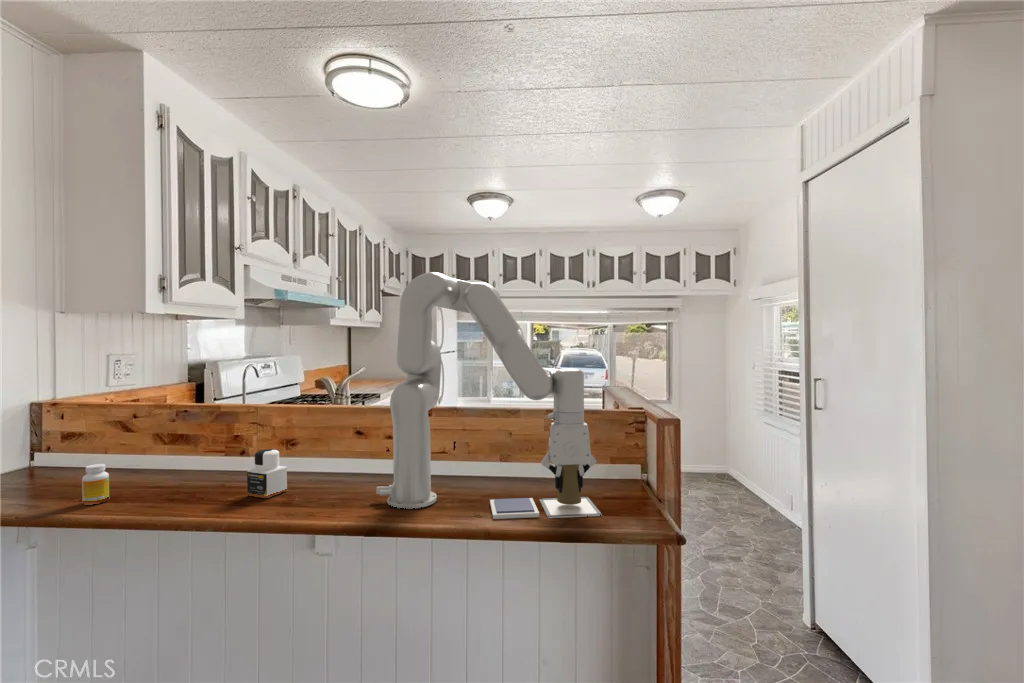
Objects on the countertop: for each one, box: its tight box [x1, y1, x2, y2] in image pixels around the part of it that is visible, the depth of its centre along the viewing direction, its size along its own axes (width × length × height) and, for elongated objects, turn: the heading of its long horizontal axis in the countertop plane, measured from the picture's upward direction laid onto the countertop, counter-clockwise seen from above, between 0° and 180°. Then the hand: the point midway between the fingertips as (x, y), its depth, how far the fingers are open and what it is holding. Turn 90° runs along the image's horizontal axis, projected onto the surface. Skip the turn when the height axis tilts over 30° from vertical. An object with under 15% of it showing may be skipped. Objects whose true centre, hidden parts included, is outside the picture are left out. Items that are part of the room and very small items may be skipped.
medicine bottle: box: [246, 448, 288, 496], centre depth 139 cm, size 7×7×12 cm
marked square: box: [538, 496, 603, 519], centre depth 127 cm, size 13×13×1 cm
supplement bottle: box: [81, 463, 110, 502], centre depth 132 cm, size 5×5×10 cm
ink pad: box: [489, 497, 540, 520], centre depth 125 cm, size 11×11×1 cm
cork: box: [556, 465, 582, 505], centre depth 127 cm, size 6×6×11 cm
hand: (568, 490), depth 127 cm, fingers closed on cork, 4 cm apart
